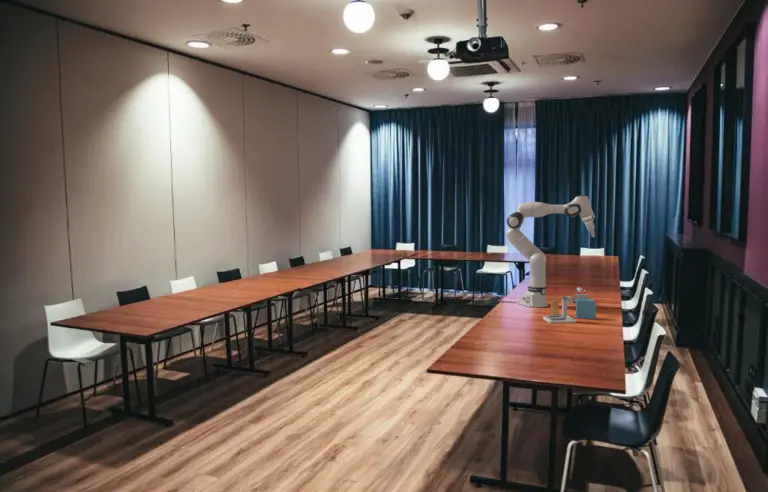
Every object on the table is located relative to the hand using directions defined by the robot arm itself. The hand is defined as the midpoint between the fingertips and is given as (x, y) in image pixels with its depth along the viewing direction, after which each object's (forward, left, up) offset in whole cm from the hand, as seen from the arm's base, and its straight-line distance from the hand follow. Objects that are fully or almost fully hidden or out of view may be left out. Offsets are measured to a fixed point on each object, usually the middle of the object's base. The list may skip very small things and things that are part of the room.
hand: (593, 236), depth 387 cm
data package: (+16, -28, -51) cm, 61 cm away
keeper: (+11, -49, -51) cm, 72 cm away
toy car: (-21, +16, -52) cm, 58 cm away
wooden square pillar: (-1, -38, -51) cm, 64 cm away
